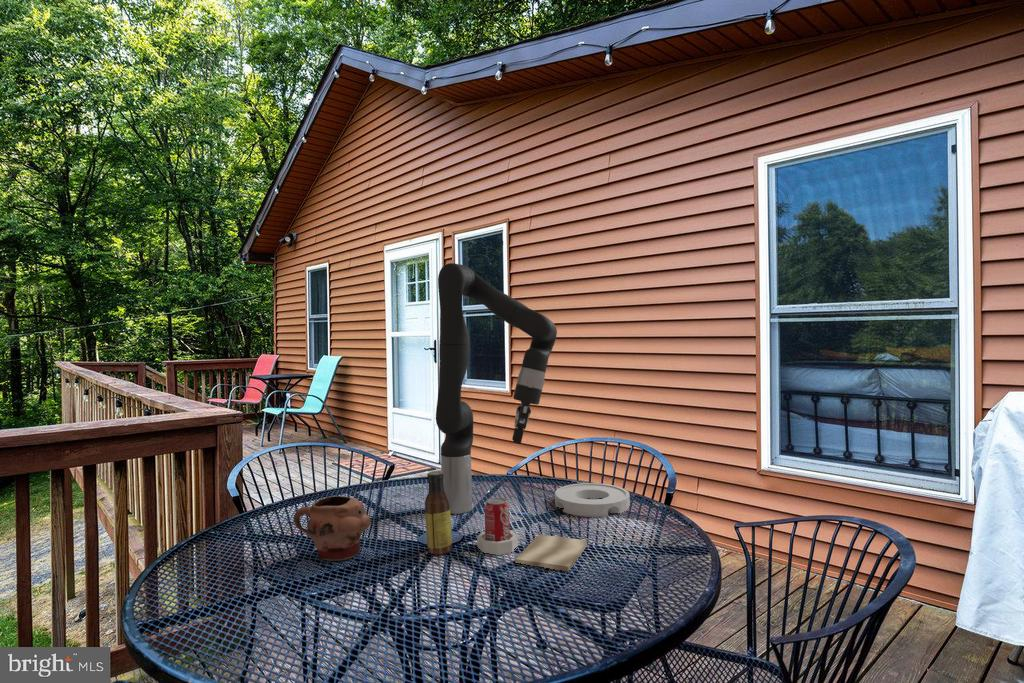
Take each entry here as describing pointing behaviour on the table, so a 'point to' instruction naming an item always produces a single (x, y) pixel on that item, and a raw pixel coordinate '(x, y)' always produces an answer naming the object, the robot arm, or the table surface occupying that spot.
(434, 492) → the sauce bottle
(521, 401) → the robot arm
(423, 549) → the table surface
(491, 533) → the beverage can
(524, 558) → the birch board
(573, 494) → the ashtray
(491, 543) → the can holder
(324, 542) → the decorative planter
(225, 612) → the table surface
